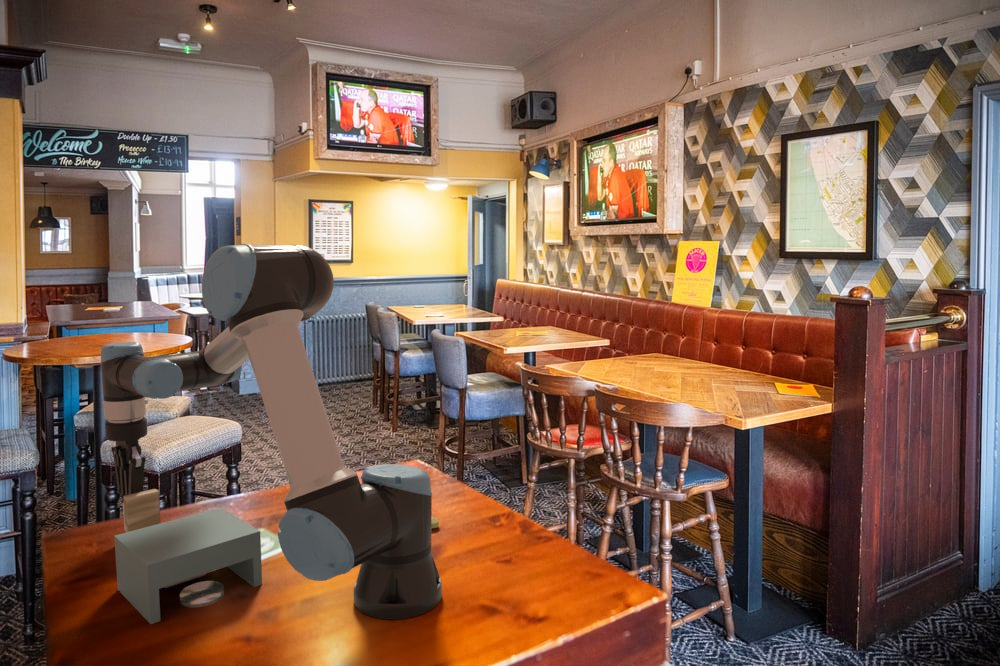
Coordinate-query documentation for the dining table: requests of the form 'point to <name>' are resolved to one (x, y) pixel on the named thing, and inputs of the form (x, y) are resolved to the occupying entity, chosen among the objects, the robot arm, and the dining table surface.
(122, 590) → the bridge
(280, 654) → the dining table surface
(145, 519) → the paddle
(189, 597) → the token
